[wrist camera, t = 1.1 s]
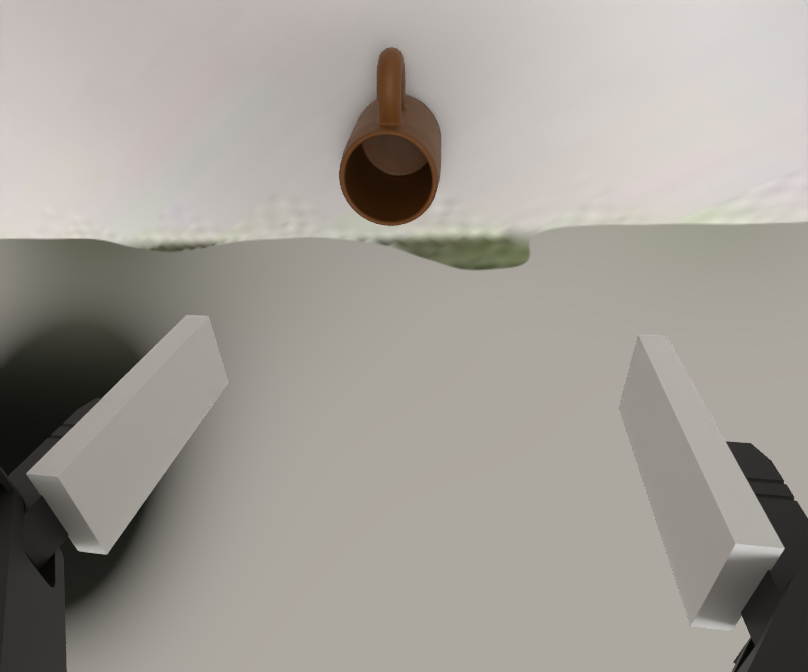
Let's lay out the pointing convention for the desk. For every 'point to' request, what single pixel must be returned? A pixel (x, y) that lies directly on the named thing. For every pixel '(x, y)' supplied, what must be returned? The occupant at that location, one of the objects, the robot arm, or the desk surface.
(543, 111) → the desk surface
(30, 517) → the robot arm
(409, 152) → the mug
